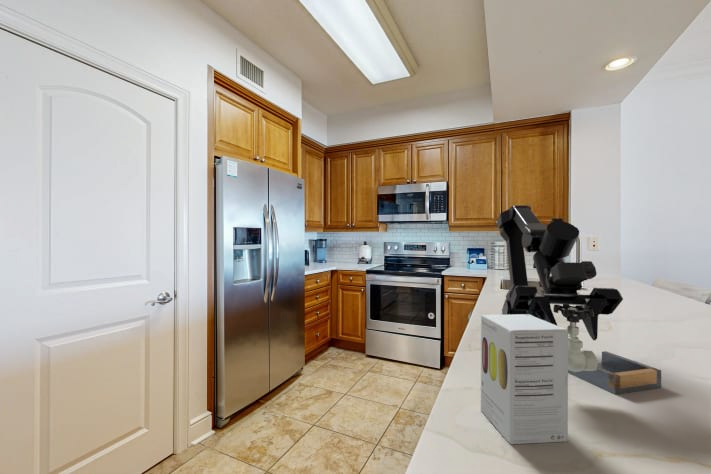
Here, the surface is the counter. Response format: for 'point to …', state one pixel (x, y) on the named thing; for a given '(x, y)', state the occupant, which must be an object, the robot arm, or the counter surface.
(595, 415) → the counter surface
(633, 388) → the grey wooden tray
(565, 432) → the supplement box
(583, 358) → the valve
